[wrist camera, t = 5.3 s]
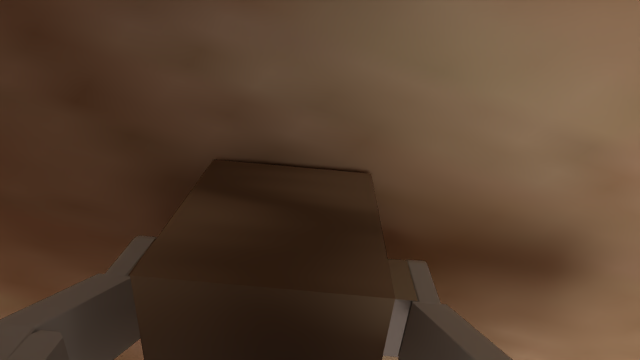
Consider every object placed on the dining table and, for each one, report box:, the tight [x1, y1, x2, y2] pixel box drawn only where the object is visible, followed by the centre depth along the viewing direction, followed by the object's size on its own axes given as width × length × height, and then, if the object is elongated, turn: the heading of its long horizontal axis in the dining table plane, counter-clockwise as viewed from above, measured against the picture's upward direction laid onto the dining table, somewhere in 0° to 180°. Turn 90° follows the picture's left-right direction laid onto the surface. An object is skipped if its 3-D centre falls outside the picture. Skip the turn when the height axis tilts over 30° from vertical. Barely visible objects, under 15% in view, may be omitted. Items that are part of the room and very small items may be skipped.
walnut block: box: [130, 160, 395, 360], centre depth 10 cm, size 4×4×5 cm
